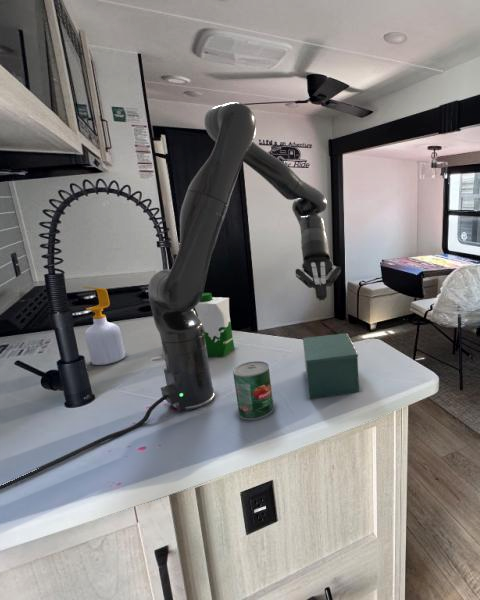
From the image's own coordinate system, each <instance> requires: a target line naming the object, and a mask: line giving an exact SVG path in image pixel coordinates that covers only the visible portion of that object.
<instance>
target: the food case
mask: <svg viewBox="0 0 480 600" xmlns="http://www.w3.org/2000/svg"><path fill="white" fill-rule="evenodd" d="M302 343H303V342H302ZM303 345H304V343H303ZM303 353H304V365H305V367H304V368H305V376H306V381H307V390H308V397H309V399H317V398H318V399H319V398H324V397H331V396H337V395H344V394H351V393H357V392H358V393H359V392H360V380H359V379H360V377H359V361H358V358H359V357H355V358H347V359H340V360H332V361H324V362H316V363H308V364H307V363H306V356H305V349H304V348H303Z"/></svg>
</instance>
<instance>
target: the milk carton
mask: <svg viewBox="0 0 480 600" xmlns="http://www.w3.org/2000/svg"><path fill="white" fill-rule="evenodd" d="M194 310H195V313H196V315H197V317H198V318H199V319H200V321H201V322H202V324H203V329H204V335H205V342H206V348H207V354H208V357H218V358H220V357H221V358H224V357H225V356H226V355H228V354H229V353H231V352H232V351H234V350H235V343H234V338H233V330H232V324H231V317H230V297H222V296H221V297H220V296H219V297H217V296H216V297H215V296H213V295H212V293H211V292H203V295H202V298H201V300H200V302H199V303H198V304H197V305H196V306H195V307H194Z"/></svg>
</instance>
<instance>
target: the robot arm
mask: <svg viewBox="0 0 480 600" xmlns="http://www.w3.org/2000/svg"><path fill="white" fill-rule="evenodd" d="M203 121H204V128H205V131H206V132H207V134H208V136H209V137H210V139H212V141H214V142H215V144H214V146H213V149H212V151H211V153H210V156H209V157H208V158H207V159H206V161H205V162H204V164H203V165H202V166H201V167H200V168H199V170H198V171H197V173H196V174H195V176H193V178H192V179H191V182H190V183H189V185H188V188H187V190H186V193H185V196H184V199H183V202H182V205H181V207H180V213H179V246H178V249H177V253H176V256H175V259H174V262H173V264H172V266H171V268H170V269H169V268H168V269H167V268H166V269H162V270H160V271H157V272H156V273H154V274H153V276H151V278H150V280H149V283H148V288H147V289H148V290H147V291H148V298H149V300H148V301H149V304H150V308H151V313H152V317H153V321H154V324H155V328H156V329H157V331H158V333H159V336H160V341H161V346H162V352H163V357H164V362H165V368H164V369H163V373H164V378H165V379H164V380H165V384H166V385H165V386H161V387H160V391H161V397H160V398H159V399H157V400H156V401H154V403H153V404H151V406H150V407H149V408H148V409H147V411H146V412H145V414H144V416H143V418H142V419H141V420H139V421H138V422H137V423H135V424H133V425H131V426H129V427H127V428H124V429H121V430H119V431H115V432H113V433H110V434H107V435H105V436H103V437H101V438H99V439H97V440H94V441H91V442H90V443H88V444H85V445H83V446H82V447H79V448H78V449H75V450H72V451H71V452H68V453H67V454H65V455H63V456H60V457H58V458H56V459H54V460H51V461H48V462H47V463H45V464H43V465H41V466H38V467H36V468H35V469H37V470H35V471H33V472H30V473H28V474H26V475H24V476H21V475H20V476H21V477H19V478H17V479H15V480H13V481H10V482H8V483H6V484H4V485H1V486H0V491H2V490H4V489H5V488H7V487H11V486H12V485H15V484H17V483H18V482H21V481H23V480H25V479H28V478H29V477H32V476H35V475H36V474H39V473H40V472H42V471H46V470H47V469H50V468H52V467H53V466H56V465H58V464H60V463H62V462H64V461H66V460H68V459H70V458H72V457H74V456H77V455H78V454H81V453H83V452H85V451H87V450H89V449H91V448H93V447H96V446H98V445H100V444H102V443H104V442H106V441H109V440H111V439H114V438H116V437H120V436H121V435H124V434H127V433H129V432H131V431H133V430H135V429H137V428H139V427H141V426H142V425H143V424H145V423H146V422H147V421H148V419H149V417H150V415H151V413H152V412H153V411H154V409H156V408H157V407H158V406H159V405H160V404H161V403H163V402H164V401H166V402H168V403H169V404H170V406H172V407H173V408H174V409H175V410H177V411H178V412H181V413H182V412H184V411H190V410H195V409H200V408H201V407H204V406H206V405H208V404H209V403H211V402H212V401H214V399H215V392H214V386H213V381H212V373H211V368H210V361H209V356H208V354H207V348H206V342H205V335H204V329H203V324H202V322H201V321H200V319H199V318H198V314H197V312H196V310H195V306H196V305H197V304H198V303H199V302H200V300H201V298H202V295H203V293H204V291H205V287H206V281H207V276H208V271H209V266H210V262H211V258H212V255H213V252H214V249H215V247H216V243H217V240H218V237H219V234H220V231H221V229H222V225H223V223H224V220H225V218H226V215H227V210H228V208H229V204H230V200H231V198H232V197H231V196H232V194H233V191H234V189H235V186H236V182H237V179H238V176H239V173H240V170H241V168H242V165H243V163H244V164H246V165H247V166H249V167H250V168H251V169H252V170H253V171H255V172H256V173H257V174H258V175H260V177H262V178H263V179H264V180H266V182H267V183H269V184H270V186H272V187H273V188H274V190H276V191H277V192H278V193H279V194H280V195H281V196H282V197H284V198H285V199H286V200H288V201H293V202H292V206H291V209H292V212H293V214H294V217H295V218H296V220H297V222H298V225H299V227H300V228H299V229H300V235H301V238H300V244H301V245H300V246H301V252H302V253H301V254H302V264H301V267H300V268H296V269H295V277H296V278H297V279H298V280H299V281H301V283H303V284H304V285H305V286H306V287H307V288H309V289H312V288H313V289H314V290H315V298H316V299H318V301H326V299H327V297H328V291H327V287H332V286H333V284H334V283H335V281H336V280H337V279H338V277H339V276H340V275H341V271H342V267H341V266H340V265H337V266H336V265H334V263H333V261H332V260H331V255H330V248H329V241H328V237H327V235H326V228H325V223H324V220H323V218H322V217H321V216H320V214H321V213H323V212H324V211H326V209H327V207H328V203H327V199H326V197H325V195H324V194H323V192H321V191H320V190H319V189H317V188H316V187H313V186H312V185H310V184H308V183H307V182H306V181H303V180H302V179H301V178H300V177H299V176H298V175H297V174H296V173H295V172H294V171H293V170H292V169H291V167H289V166H288V165H287V164H286V163H284V162H283V161H281V159H279V158H277V157H276V156H274V155H273V154H271V153H269V152H267V151H266V150H265V149H263V148H261V147H260V146H259V145H258V144H257V143H256V142H254V138H255V137H256V132H257V121H256V117H255V114H254V112H253V111H252V110H251V108H250V107H249V106H248V105H246V104H244V103H241V102H228V103H224V104H221V105H218V106H215V107H211V108H210V109H208V110H207V112H206V114H205V115H204V120H203ZM330 272H331V274H330ZM329 274H330V275H329ZM328 275H329V277H328ZM326 278H327V279H326ZM38 468H39V469H38Z"/></svg>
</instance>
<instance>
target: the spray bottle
mask: <svg viewBox="0 0 480 600" xmlns="http://www.w3.org/2000/svg"><path fill="white" fill-rule="evenodd" d="M82 289H90V290H95V291H96V294H97V298H98V304H97V305H94V306H90V307H87V308H85V310H86V311H91V312H92V313H94V315H93V316H92V321H93V324H92V325H90V326H89V327H88V328H87V329H86V330H84V331H85V332H84V337H85V341H86V346H87V350H88V354H89V357H90V363H91V364H92V365H95V366H104V365H110V364H113V363H117V362H119V361H121V360H123V359H125V357H126V352H125V347H124V341H123V338H122V333H121V329H120V327H119V326H118V325H117V324H115V323H113V322H109V321H108V320H107V316H106V314H103V313H102V312H103V311H104V309H105V308H108V307H110V304H111V301H110V298H109V294H108V290H107V289H106V288H104V287H92V286H82Z"/></svg>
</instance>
